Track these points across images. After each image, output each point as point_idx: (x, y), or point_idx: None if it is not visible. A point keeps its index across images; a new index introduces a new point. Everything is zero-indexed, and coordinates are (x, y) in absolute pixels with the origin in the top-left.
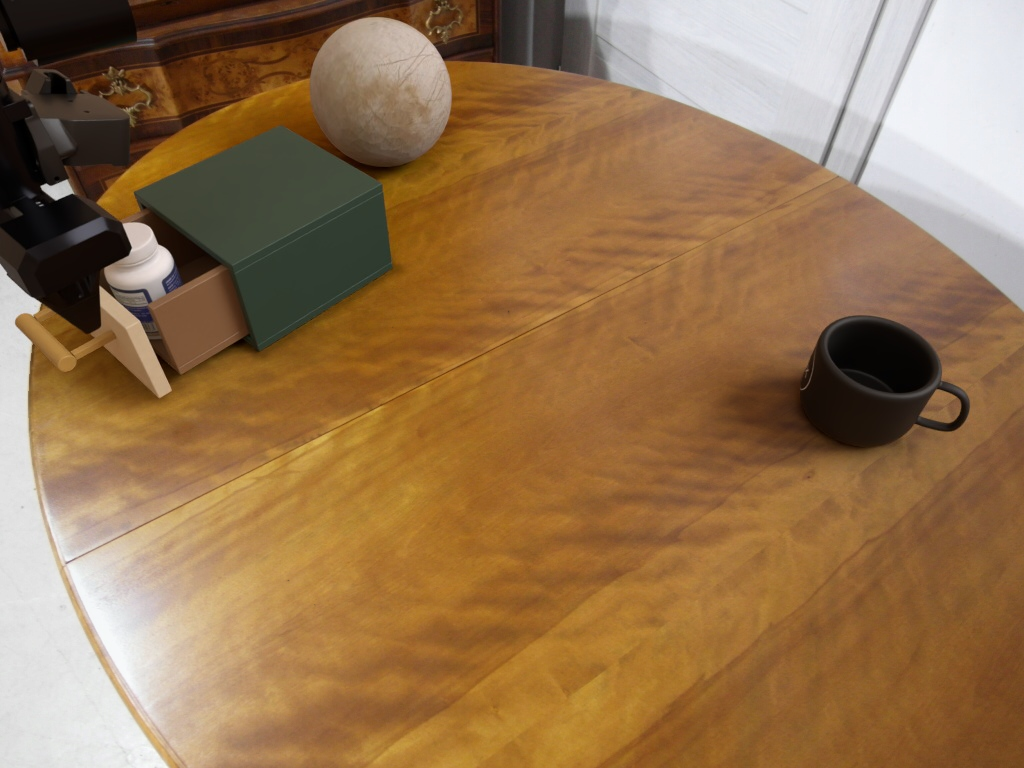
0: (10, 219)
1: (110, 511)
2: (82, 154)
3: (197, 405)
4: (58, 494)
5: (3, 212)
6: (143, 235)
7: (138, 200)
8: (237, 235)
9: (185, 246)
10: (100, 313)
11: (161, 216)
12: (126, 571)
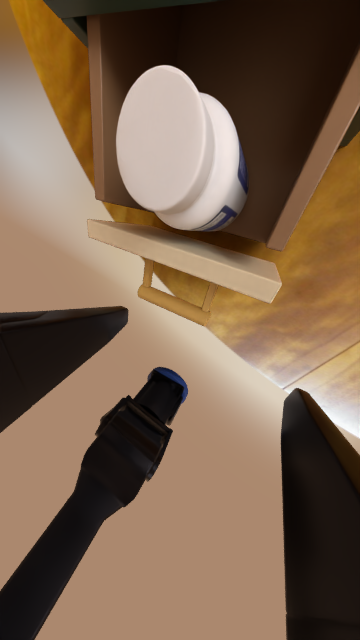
0: (45, 338)
1: (287, 360)
2: None
3: (301, 260)
4: (244, 354)
5: (24, 350)
6: (179, 109)
7: (64, 15)
8: None
9: (161, 50)
10: (333, 424)
11: (129, 1)
12: (328, 393)
